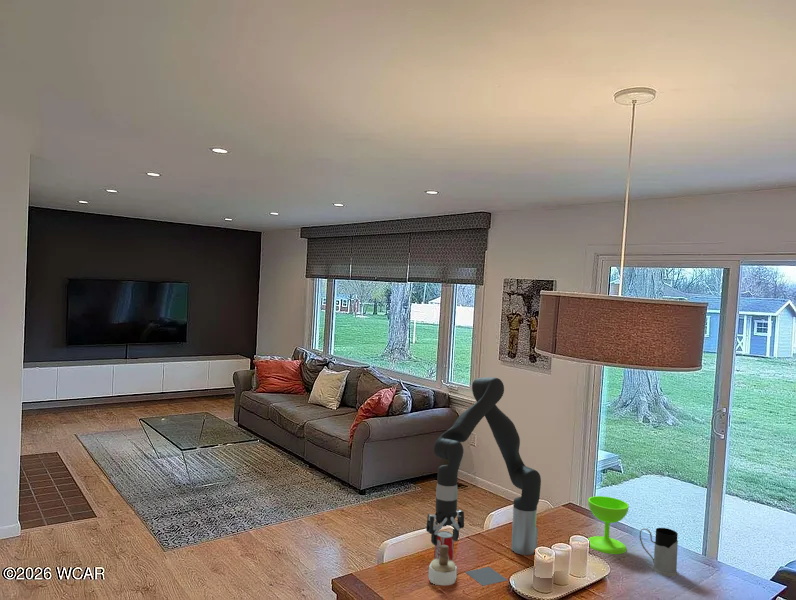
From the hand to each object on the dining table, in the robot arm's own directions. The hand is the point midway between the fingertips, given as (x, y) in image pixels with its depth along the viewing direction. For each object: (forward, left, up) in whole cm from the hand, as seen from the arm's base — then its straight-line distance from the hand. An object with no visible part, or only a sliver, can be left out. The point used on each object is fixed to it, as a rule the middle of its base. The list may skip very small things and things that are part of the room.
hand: (444, 542), depth 199 cm
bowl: (0, 0, -13) cm, 13 cm away
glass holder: (-83, +23, -14) cm, 87 cm away
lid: (0, 0, -9) cm, 9 cm away
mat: (-16, +4, -13) cm, 21 cm away
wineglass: (-81, 0, -14) cm, 82 cm away
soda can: (-6, -9, -14) cm, 17 cm away
